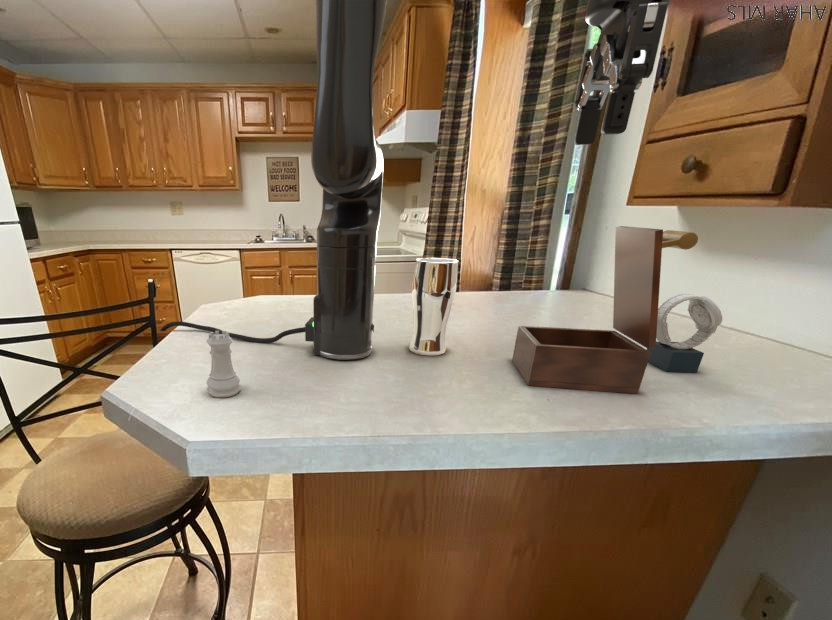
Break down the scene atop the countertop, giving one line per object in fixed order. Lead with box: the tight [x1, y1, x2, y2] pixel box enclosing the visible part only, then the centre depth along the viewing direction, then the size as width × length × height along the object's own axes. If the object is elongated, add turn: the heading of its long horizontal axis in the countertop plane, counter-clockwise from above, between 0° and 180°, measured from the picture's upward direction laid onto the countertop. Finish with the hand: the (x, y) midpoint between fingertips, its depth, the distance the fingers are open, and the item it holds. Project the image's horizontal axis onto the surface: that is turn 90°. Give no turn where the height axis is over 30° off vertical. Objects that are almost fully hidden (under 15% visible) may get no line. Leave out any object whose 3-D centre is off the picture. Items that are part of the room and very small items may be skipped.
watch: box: [646, 293, 723, 374], centre depth 64 cm, size 6×8×11 cm
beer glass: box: [408, 257, 459, 357], centre depth 70 cm, size 7×7×15 cm
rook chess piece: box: [206, 330, 242, 398], centre depth 54 cm, size 4×4×8 cm
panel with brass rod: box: [612, 225, 699, 350], centre depth 55 cm, size 14×11×6 cm
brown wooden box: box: [511, 325, 651, 395], centre depth 61 cm, size 14×11×6 cm
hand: (596, 139), depth 49 cm, fingers open, 8 cm apart
